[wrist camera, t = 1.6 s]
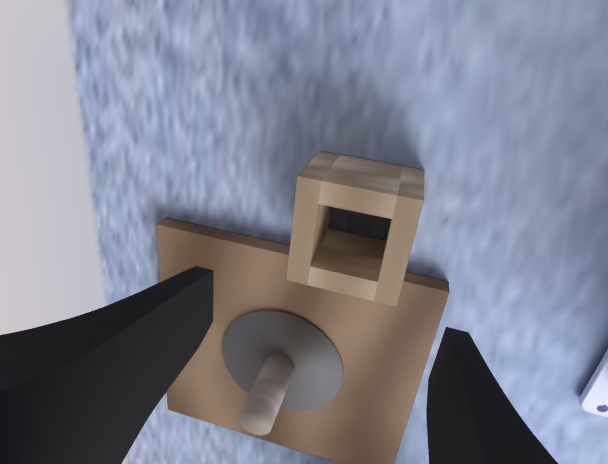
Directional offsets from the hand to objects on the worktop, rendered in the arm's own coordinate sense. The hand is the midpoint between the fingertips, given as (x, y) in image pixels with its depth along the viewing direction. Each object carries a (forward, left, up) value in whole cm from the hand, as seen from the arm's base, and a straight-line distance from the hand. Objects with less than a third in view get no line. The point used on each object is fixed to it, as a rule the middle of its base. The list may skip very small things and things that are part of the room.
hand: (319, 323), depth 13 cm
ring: (0, 0, -9) cm, 9 cm away
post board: (+3, +11, -9) cm, 14 cm away
